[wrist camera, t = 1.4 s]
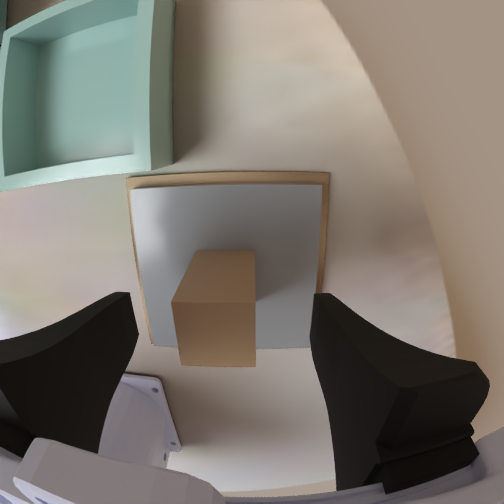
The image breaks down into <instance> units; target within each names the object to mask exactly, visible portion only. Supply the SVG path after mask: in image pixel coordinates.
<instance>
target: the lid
mask: <svg viewBox="0 0 504 504" xmlns="http://www.w3.org/2000/svg"><path fill="white" fill-rule="evenodd" d="M130 197H131V208H132V217H133V226H134V235H135V242H136V250H137V257H138V264H139V270H140V276H141V282H142V288H143V294H144V299H145V305H146V310H147V315H148V320H149V325H150V330H151V334H152V339H153V343H154V346H165V347H178V349H179V354H180V360H181V365H187V366H210V367H256V349H282V348H308V347H310V338H309V337H310V328H311V318H312V309H313V299H314V293H316V282H317V271H318V258H319V243H320V227H321V208H322V185H321V184H319V183H291V182H241V183H202V184H178V185H160V186H145V187H135V188H133V189H130Z"/></svg>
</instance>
